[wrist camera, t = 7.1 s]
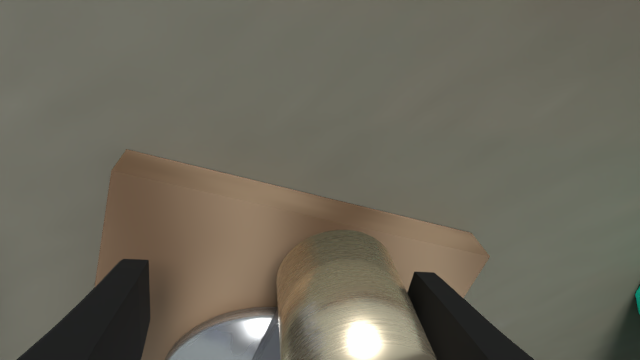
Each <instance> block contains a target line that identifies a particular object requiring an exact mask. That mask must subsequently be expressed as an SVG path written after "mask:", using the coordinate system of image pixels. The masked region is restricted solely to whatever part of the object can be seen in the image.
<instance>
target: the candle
mask: <svg viewBox="0 0 640 360" xmlns="http://www.w3.org/2000/svg"><path fill="white" fill-rule="evenodd" d="M635 296H636V301H637V307H638V312H639V314H640V286H639V288H638V290H637V292H636V294H635Z"/></svg>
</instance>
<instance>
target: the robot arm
mask: <svg viewBox="0 0 640 360" xmlns="http://www.w3.org/2000/svg"><path fill="white" fill-rule="evenodd" d="M407 294H408V296H409V298H410V300H411V303H412V305H413V307H414V309H415V312H416V314H417V316H418V318H419V321H420V323H421V325H422V327H423V329H424V332H425V334H426V336H427V338H428V341H429V343H430V345H431V347H432V350H433V352H434V354H435V356H436V359H437V360H534V359H533V358H532V357H530V356H529V355H528V354H527V353H525V352H524V351H523V350H522V349H520V348H519V347H518V346H517V345H516V344H514V343H513V342H512V341H511V340H509V339H508V338H507V337H506V336H505V335H504V334H502V333H501V332H500V331H499V330H498V329H497V328H496V327H494V326H493V325H492V324H491V323H490V322H489V321H488V320H487V319H485V318H484V317H483V316H482V315H481V314H480V313H479V312H478V311H477V310H475V309H474V308H473V307H472V306H471V305H470V304H469V303H468V302H467V301H466V300H465V299H463V298H462V297H461V296H460V295H459V294H458V293H457V292H456V291H455V290H454V289H453V288H451V287H450V286H449V285H448V284H447V283H446V282H445V281H444V280H443V279H441V278H440V277H439V276H438V275H437V274H435V273H434V272H414V274H413V277H412V280H411V283H410V286H409V289H408V292H407ZM149 323H150V286H149V260H141V259H122V260H121V261H119V262H118V263H117V264H116V265H115V266H114V268H113V269H112V270H111V271H110V272H109V273H108V274H107V275H106V276H105V277H104V278H103V279H102V280H101V281H100V283H99V284H98V285H97V286H96V287H95V288H94V289H93V290H92V291H91V292H90V293H89V294H88V295H87V296H86V297H85V298H84V299H83V300H82V301H81V302H80V303H79V304H78V305H77V306H76V307H75V308H74V309H72V310H71V311H70V312H69V313H68V314H67V315H66V316H65V317H64V318H63V319H62V320H61V321H60V322H59V323H58V324H57V325H56V326H55V327H53V328H52V329H51V330H50V331H49V332H48V333H47V334H46V335H44V336H43V337H42V338H41V339H40V340H39V341H38V342H36V343H35V344H34V345H33V346H32V347H31V348H30V349H29V350H27V351H26V352H25V353H24V354H23V355H22V356H20V357H19V358H18V359H17V360H141V358H142V353H143V349H144V345H145V341H146V337H147V332H148V328H149Z"/></svg>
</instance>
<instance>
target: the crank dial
mask: <svg viewBox="0 0 640 360" xmlns="http://www.w3.org/2000/svg"><path fill="white" fill-rule="evenodd" d="M276 284H277V303H278V307H255V308H247V309H241V310H237V311H232V312H228V313H225V314H222V315H219V316H216V317H214V318H212V319H209V320H207V321H205V322H203V323H201V324H199V325H198V326H196V327H194V328H193V329H191V330H190V331H189V332H187V333H186V334H185V335H183V336H182V337H181V338H180V339H179V340H178V341H177V342H176V343H175V344H174V345H173V347H172V348H171V350H170V351H169V352H168V354H167V356H166V358H165V360H437V359H436V356H435V354H434V352H433V350H432V347H431V345H430V343H429V341H428V338H427V336H426V334H425V332H424V329H423V327H422V325H421V323H420V321H419V318H418V316H417V314H416V312H415V309H414V307H413V305H412V303H411V300H410V298H409V296H408V294H407V291H406V289H405V287H404V285H403V282H402V280H401V278H400V276H399V273H398V271H397V269H396V267H395V265H394V262H393V260H392V258H391V256H390V254H389V252H388V250H387V249H386V247H385V246H384V245H383V244H382V243H381V242H379V241H378V240H377V239H375V238H374V237H372V236H370V235H368V234H365V233H362V232H358V231H353V230H332V231H327V232H322V233H319V234H316V235H313V236H311V237H309V238H307V239H305V240H304V241H302V242H300V243H299V244H298V245H296V246H295V247H294V248H293V249H292V250H291V251H290V252H289V253H288V254H287V255H286V257H285V258H284V259H283V261H282V263H281V265H280V267H279V270H278V273H277V282H276Z"/></svg>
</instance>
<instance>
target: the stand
mask: <svg viewBox="0 0 640 360" xmlns="http://www.w3.org/2000/svg"><path fill="white" fill-rule="evenodd" d="M332 230H353V231H358V232H362V233H365V234H368V235H370V236H372V237H374V238H375V239H377V240H378V241H379V242H381V243H382V244H383V245H384V246H385V247H386V249H387V250H388V252H389V254H390V256H391V258H392V260H393V262H394V265H395V267H396V269H397V271H398V273H399V276H400V278H401V280H402V282H403V285H404V287H405V289H406V291H407V292H408V289H409V286H410V283H411V280H412V277H413V274H414V272H434V273H435V274H437V275H438V276H439V277H440V278H441V279H443V280H444V281H445V282H446V283H447V284H448V285H449V286H450V287H451V288H453V289H454V290H455V291H456V292H457V293H458V294H459V295H460V296H461V297H462V298H464V296H465V295H466V293H467V292H468V290H469V288H470V287H471V285H472V284H473V282H474V281H475V279H476V278H477V276H478V274H479V273H480V271H481V270H482V268H483V267H484V265H485V264H486V262H487V260H488V259H489V257H490V256H489V255H488V254H487V252H486V251H485V250H484V248H483V247H482V246H481V245H480V243H479V242H478V241H477V239H476V238H475V237H474V236H473V234H472V233H469V232H465V231H461V230H457V229H453V228H449V227H445V226H441V225H436V224H432V223H428V222H424V221H420V220H416V219H412V218H408V217H403V216H399V215H395V214H391V213H387V212H383V211H379V210H375V209H370V208H366V207H362V206H358V205H354V204H350V203H346V202H342V201H337V200H333V199H329V198H325V197H321V196H317V195H313V194H309V193H304V192H300V191H296V190H292V189H288V188H284V187H280V186H276V185H271V184H267V183H263V182H259V181H255V180H251V179H247V178H243V177H238V176H234V175H230V174H226V173H222V172H218V171H214V170H210V169H205V168H201V167H197V166H193V165H189V164H185V163H181V162H177V161H172V160H168V159H164V158H160V157H156V156H152V155H148V154H144V153H139V152H135V151H131V150H127V149H126V151H125V152H124V153H123V155H122V156H121V158H120V159H119V161H118V162H117V163H116V165H115V166H114V168H113V169H112V171H111V177H110V184H109V191H108V198H107V205H106V212H105V218H104V225H103V232H102V239H101V246H100V253H99V260H98V267H97V274H96V280H95V287H96V286H97V285H98V284H99V283H100V281H101V280H102V279H103V278H104V277H105V276H106V275H107V274H108V273H109V272H110V271H111V270H112V269H113V268H114V266H115V265H116V264H117V263H118V262H119V261H121V260H122V259H141V260H149V286H150V323H149V328H148V332H147V337H146V341H145V345H144V349H143V353H142V358H141V360H165V358H166V356H167V354H168V352H169V351H170V350H171V348H172V347H173V345H174V344H175V343H176V342H177V341H178V340H179V339H180V338H181V337H182V336H183V335H185V334H186V333H187V332H189V331H190V330H191V329H193V328H194V327H196V326H198V325H199V324H201V323H203V322H205V321H207V320H209V319H212V318H214V317H216V316H219V315H222V314H225V313H228V312H232V311H237V310H241V309H247V308H255V307H278V303H277V284H276V282H277V273H278V270H279V267H280V265H281V263H282V261H283V259H284V258H285V257H286V255H287V254H288V253H289V252H290V251H291V250H292V249H293V248H294V247H295V246H296V245H298V244H299V243H300V242H302V241H304V240H305V239H307V238H309V237H311V236H313V235H316V234H319V233H322V232H327V231H332ZM95 287H94V288H95Z"/></svg>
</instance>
